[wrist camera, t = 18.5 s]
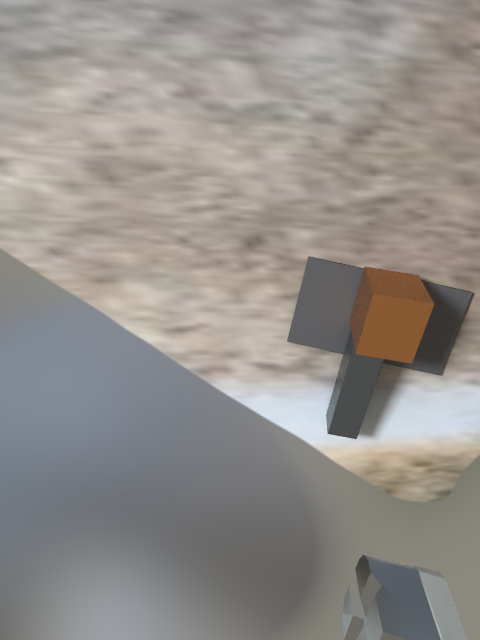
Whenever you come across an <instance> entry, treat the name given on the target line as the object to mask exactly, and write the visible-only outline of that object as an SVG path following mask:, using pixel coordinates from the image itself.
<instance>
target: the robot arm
mask: <svg viewBox="0 0 480 640" xmlns="http://www.w3.org/2000/svg"><path fill="white" fill-rule="evenodd" d="M355 570H356V576H357V581H356V582H354V583H352V584H350V585H349V587H348V590H347V593H346V595H345V599H344V606H343V613H342V619H343V621H342V624H343V625H342V626H343V635H344V640H468V638H467V635H466V633H465V630H464V627H463V625H462V622H461V620H460V617H459V615H458V612H457V609H456V607H455V604H454V602H453V599H452V597H451V594H450V591H449V589H448V586H447V584H446V581H445V579H444V576H443V575H442V574H441V573H440V572H438V571H434V570H429V569H425V568H420V567H416V566H413V567H412V566H410V565H406V564H401V563H397V562H393V561H389V560H384V559H380V558H375V557H371V556H367V555H362V557H361V558H360V559H359V561H358V563H357V566H356V569H355Z"/></svg>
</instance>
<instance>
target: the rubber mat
mask: <svg viewBox="0 0 480 640" xmlns="http://www.w3.org/2000/svg"><path fill="white" fill-rule="evenodd" d="M363 271H364V268H359V267H355V266H350V265H346V264H341V263H336V262H332V261H327V260H322V259H318V258H313V257H309V258H308V261H307V265H306V269H305V273H304V277H303V281H302V285H301V289H300V293H299V297H298V301H297V305H296V309H295V313H294V317H293V320H292V324H291V328H290V332H289V336H288V340H287V342H292V343H296V344H301V345H305V346H310V347H314V348H319V349H323V350H328V351H332V352H337V353H341V354H344V351H345V347H346V344H347V340H348V337H349V333H350V330H351V328H350V322H349V321H350V318H351V314H352V310H353V307H354V303H355V300H356V296H357V293H358V289H359V285H360V282H361V278H362V275H363ZM422 283H423V285H424V286H425V288H426V290H427V292H428V293H429V295H430V297H431V299H432V300H433V302H434V307H433V309H432V312H431V314H430V317H429V320H428V322H427V325H426V328H425V330H424V333H423V336H422V338H421V341H420V343H419V346H418V349H417V351H416V354H415V357H414V359H413V362H412V364H411V363H405V362H399V361H393V360H387V359H383V362H382V363H386V364H391V365H395V366H400V367H404V368H409V369H413V370H418V371H422V372H427V373H431V374H436V375H441V373H442V370H443V368H444V365H445V362H446V360H447V357H448V355H449V352H450V350H451V347H452V345H453V342H454V339H455V337H456V334H457V332H458V329H459V327H460V324H461V322H462V319H463V316H464V314H465V311H466V309H467V306H468V304H469V301H470V299H471V296H472V292H470V291H465V290H461V289H456V288H452V287H447V286H442V285H438V284H433V283H428V282H424V281H422Z"/></svg>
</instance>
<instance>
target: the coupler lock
mask: <svg viewBox="0 0 480 640" xmlns="http://www.w3.org/2000/svg"><path fill="white" fill-rule="evenodd" d="M433 307H434V302H433V300H432V299H431V297H430V295H429V293H428V292H427V290H426V288H425V286H424V285H423V283H422V281H421V279H420V278H419V276H418V275H414V274H407V273H401V272H395V271H389V270H383V269H376V268H370V267H365V268H364V271H363V275H362V278H361V282H360V285H359V289H358V293H357V296H356V300H355V303H354V307H353V310H352V314H351V318H350V321H349V322H350V328H351V330H350V333H349V337H348V340H347V344H346V347H345V351H344V354H343V358H342V362H341V365H340V369H339V372H338V376H337V379H336V383H335V386H334V390H333V393H332V397H331V400H330V404H329V407H328V411H327V414H326V417H327V432H328V434H331V435H337V436H343V437H348V438H354V439H357V436H358V433H359V430H360V427H361V424H362V421H363V418H364V415H365V412H366V410H367V407H368V404H369V401H370V398H371V395H372V392H373V389H374V386H375V383H376V380H377V377H378V374H379V371H380V368H381V365H382V362H383V359H387V360H393V361H399V362H405V363H411V364H412V362H413V359H414V357H415V354H416V351H417V349H418V346H419V343H420V341H421V338H422V336H423V333H424V330H425V328H426V325H427V322H428V320H429V317H430V314H431V312H432V309H433Z"/></svg>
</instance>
